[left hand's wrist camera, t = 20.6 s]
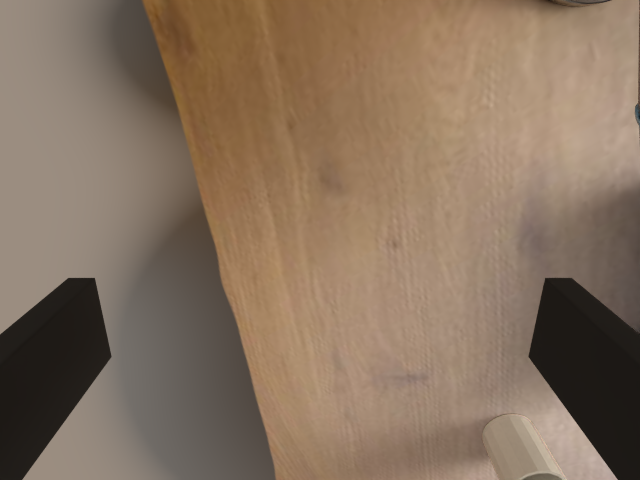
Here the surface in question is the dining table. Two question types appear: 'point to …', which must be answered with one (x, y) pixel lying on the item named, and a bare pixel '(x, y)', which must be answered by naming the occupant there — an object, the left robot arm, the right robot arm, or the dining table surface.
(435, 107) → the dining table surface
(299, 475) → the dining table surface
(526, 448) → the white cup
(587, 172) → the dining table surface
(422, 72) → the dining table surface
